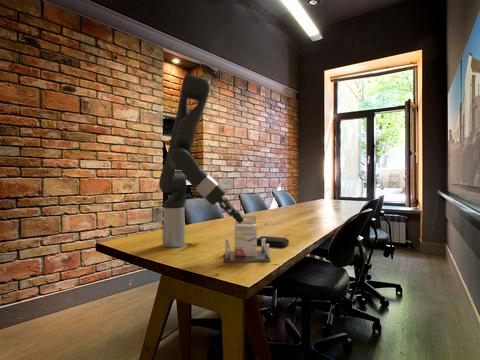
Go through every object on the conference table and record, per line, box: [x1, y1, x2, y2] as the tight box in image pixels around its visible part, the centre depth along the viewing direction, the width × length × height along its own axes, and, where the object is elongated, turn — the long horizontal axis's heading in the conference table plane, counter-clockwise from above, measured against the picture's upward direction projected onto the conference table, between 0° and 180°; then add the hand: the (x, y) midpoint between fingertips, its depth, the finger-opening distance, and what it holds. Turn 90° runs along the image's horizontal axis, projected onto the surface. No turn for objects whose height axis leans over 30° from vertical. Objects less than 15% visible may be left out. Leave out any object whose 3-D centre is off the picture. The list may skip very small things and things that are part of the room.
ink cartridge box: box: [233, 215, 258, 256], centre depth 107 cm, size 9×5×15 cm, turn 88°
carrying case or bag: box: [257, 235, 290, 249], centre depth 128 cm, size 11×3×15 cm
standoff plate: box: [224, 238, 271, 264], centre depth 107 cm, size 16×12×6 cm
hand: (241, 219), depth 107 cm, fingers open, 8 cm apart
